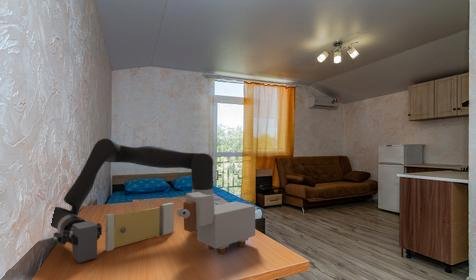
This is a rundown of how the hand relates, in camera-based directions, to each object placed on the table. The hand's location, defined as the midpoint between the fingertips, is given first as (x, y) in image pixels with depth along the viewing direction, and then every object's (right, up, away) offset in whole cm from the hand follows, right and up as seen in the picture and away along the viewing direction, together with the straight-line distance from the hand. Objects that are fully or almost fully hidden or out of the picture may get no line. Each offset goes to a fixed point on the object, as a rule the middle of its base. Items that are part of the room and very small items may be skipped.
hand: (87, 239), depth 75 cm
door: (+10, -7, +16) cm, 20 cm away
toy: (+39, -7, +8) cm, 40 cm away
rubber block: (-2, -6, +2) cm, 7 cm away
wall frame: (+10, -8, +18) cm, 22 cm away
